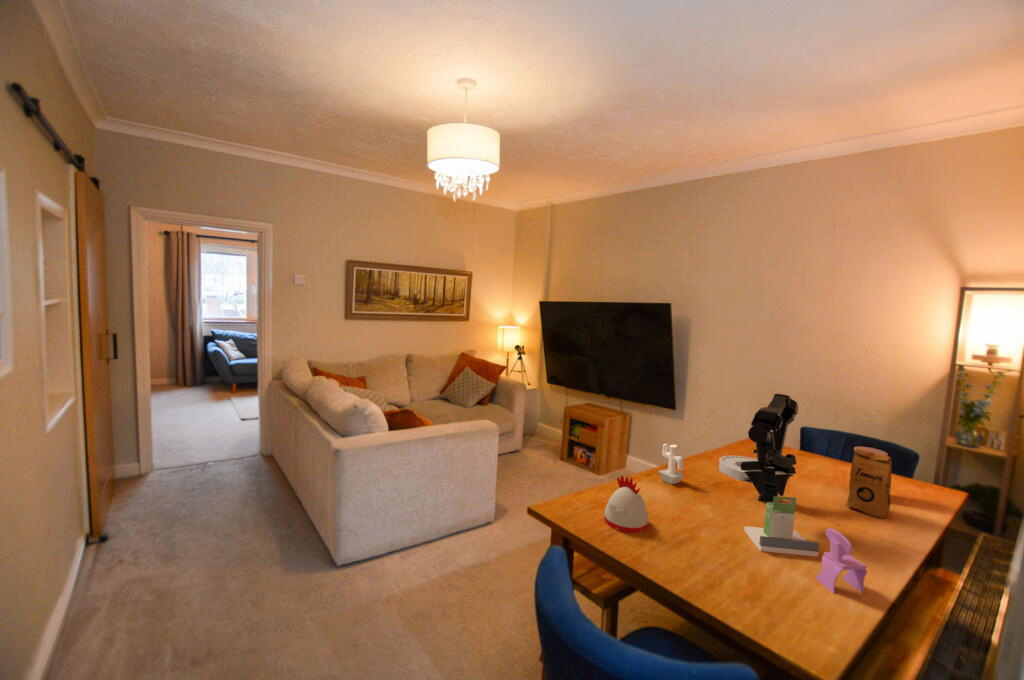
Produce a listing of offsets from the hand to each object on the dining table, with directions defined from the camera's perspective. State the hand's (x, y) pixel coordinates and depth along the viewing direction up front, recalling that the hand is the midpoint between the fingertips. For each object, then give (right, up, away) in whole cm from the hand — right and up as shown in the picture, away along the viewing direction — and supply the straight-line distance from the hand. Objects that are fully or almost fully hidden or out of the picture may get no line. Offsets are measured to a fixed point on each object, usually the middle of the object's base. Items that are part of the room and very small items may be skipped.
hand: (771, 495), depth 151 cm
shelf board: (-3, -11, -10) cm, 16 cm away
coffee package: (+44, -12, +16) cm, 48 cm away
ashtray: (+17, -7, +48) cm, 52 cm away
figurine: (-21, -6, +34) cm, 41 cm away
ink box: (-3, -10, -9) cm, 14 cm away
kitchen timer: (-48, -8, -2) cm, 49 cm away
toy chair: (+1, -14, -31) cm, 34 cm away
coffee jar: (+55, -11, +31) cm, 64 cm away
